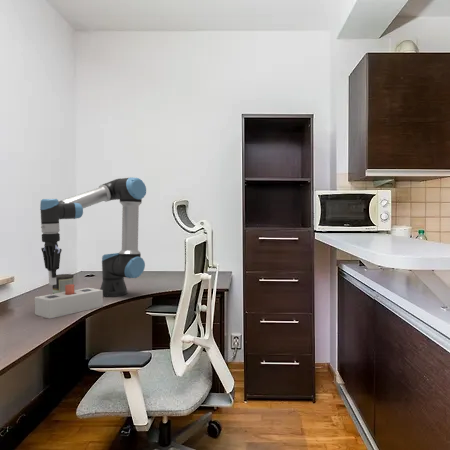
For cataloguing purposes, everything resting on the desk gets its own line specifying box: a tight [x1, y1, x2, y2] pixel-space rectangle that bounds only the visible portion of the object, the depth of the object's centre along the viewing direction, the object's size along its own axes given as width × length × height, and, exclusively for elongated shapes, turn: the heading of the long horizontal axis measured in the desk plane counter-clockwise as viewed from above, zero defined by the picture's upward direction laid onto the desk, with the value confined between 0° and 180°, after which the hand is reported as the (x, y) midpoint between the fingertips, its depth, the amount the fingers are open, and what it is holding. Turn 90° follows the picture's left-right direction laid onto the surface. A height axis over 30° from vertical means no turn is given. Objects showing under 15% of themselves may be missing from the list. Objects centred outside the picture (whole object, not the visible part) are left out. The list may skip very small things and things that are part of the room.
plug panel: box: [34, 287, 104, 320], centre depth 195 cm, size 28×12×8 cm, turn 143°
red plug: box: [65, 284, 75, 295], centre depth 194 cm, size 4×4×7 cm
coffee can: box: [51, 273, 75, 294], centre depth 210 cm, size 10×10×14 cm
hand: (52, 284), depth 187 cm, fingers closed
